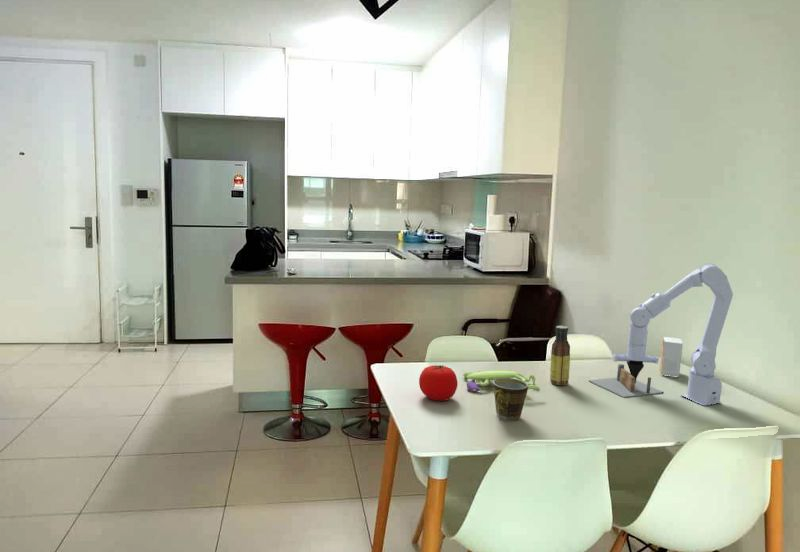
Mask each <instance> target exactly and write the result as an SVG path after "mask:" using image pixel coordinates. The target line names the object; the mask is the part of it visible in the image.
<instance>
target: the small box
mask: <svg viewBox="0 0 800 552" xmlns="http://www.w3.org/2000/svg"><path fill="white" fill-rule="evenodd" d="M683 345H684V343H683V340H682V338H677V337H669V336H663V337H662V345H661V353H660V354H661V355H660V361H659V362H660V365H659V374H660V373H661V374H660V376H661V375H668V376H669V375H670V376H679V377H680V374H681V373H680V372H681V363H682V355H683V354H682V353H683Z"/></svg>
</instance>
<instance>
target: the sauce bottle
mask: <svg viewBox="0 0 800 552" xmlns="http://www.w3.org/2000/svg"><path fill="white" fill-rule="evenodd" d="M568 332H569V327H568V326H565V325H556V326H555V338H554V339H555V340H554V341H553V343H552V345H551V353H550V368H549V369H550V374H549V378H550V383H551V384H552V385H555V386H567V385H568V384H569V380H570V365H571V364H570V363H571V346H570V345H571V344H570V343H569V341H568Z"/></svg>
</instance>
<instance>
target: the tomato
mask: <svg viewBox="0 0 800 552" xmlns="http://www.w3.org/2000/svg"><path fill="white" fill-rule="evenodd" d="M418 384H419V389H420V391H421V393H422V394H424V396H426V397H427V398H429V399H430V400H433V401H438V402H443V401H447V400H450V399H451V398H452V397H453V396H454V395H456V392H457V389H458V378H457V374H456V373H455V371H454V370H453V368H451V367H449V366H445V365H437V364H435V365H429V366H427V367H424V369H423V370H422V371H421V373H420V375H419V380H418Z"/></svg>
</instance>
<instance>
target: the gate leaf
mask: <svg viewBox="0 0 800 552" xmlns="http://www.w3.org/2000/svg"><path fill="white" fill-rule="evenodd" d="M635 379H636V380H637V378H635V377H633V376H632V375H631V374H630V371H628V370H626V369H625V367H624V368H621V370H620V380H619V381H621V382H622V383H623V384H624V385H625V386H626V387H627V388H628V389H629V390H630V391H634V388H635Z"/></svg>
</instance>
